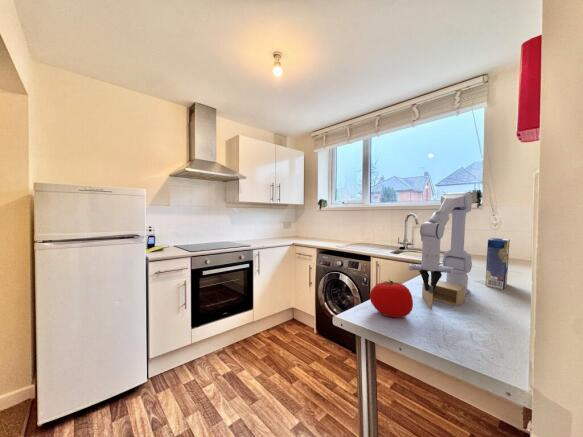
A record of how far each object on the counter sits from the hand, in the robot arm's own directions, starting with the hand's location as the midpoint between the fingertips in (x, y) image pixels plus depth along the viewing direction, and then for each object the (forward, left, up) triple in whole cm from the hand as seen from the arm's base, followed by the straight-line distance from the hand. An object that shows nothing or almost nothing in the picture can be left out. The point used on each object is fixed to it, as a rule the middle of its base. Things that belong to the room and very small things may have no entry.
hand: (429, 290), depth 90 cm
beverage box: (-53, +9, -7) cm, 55 cm away
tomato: (+17, -6, -7) cm, 19 cm away
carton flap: (-4, -2, -6) cm, 7 cm away
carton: (-13, 0, -6) cm, 15 cm away
